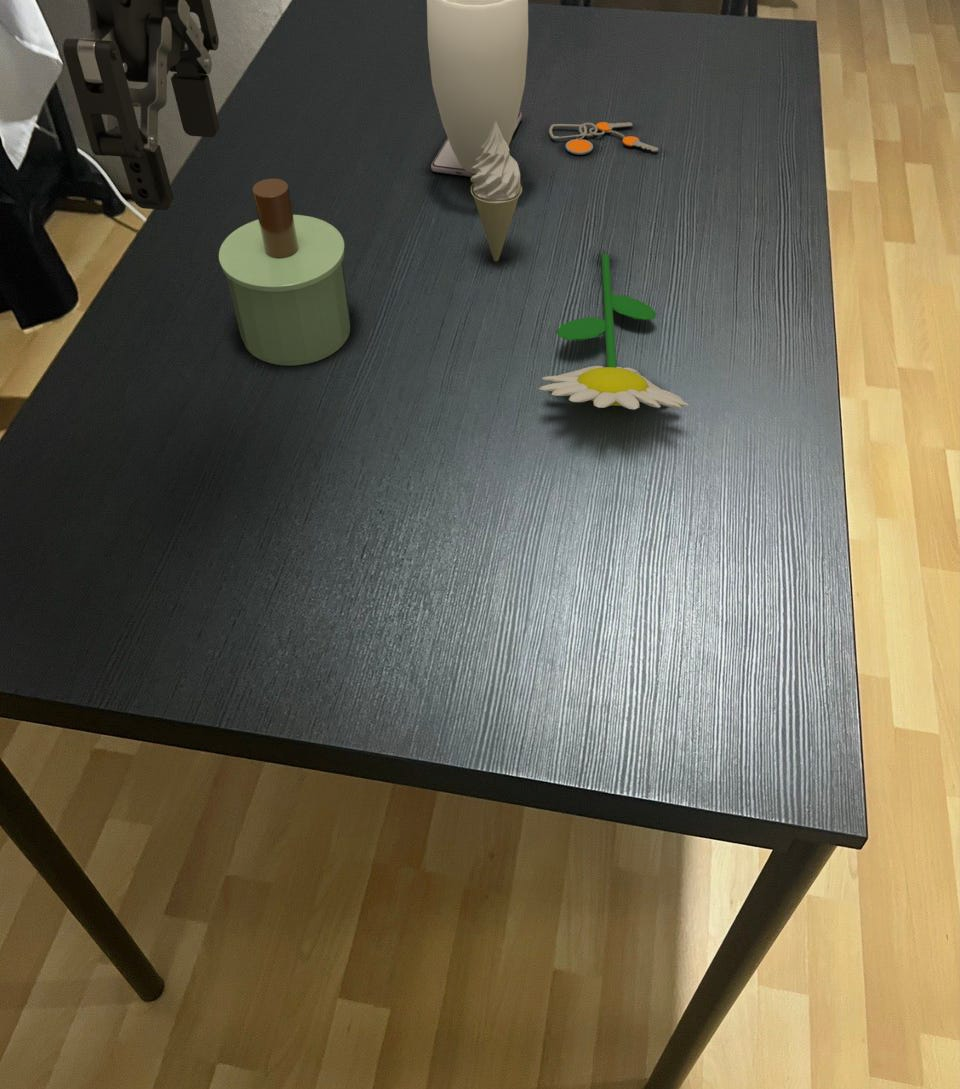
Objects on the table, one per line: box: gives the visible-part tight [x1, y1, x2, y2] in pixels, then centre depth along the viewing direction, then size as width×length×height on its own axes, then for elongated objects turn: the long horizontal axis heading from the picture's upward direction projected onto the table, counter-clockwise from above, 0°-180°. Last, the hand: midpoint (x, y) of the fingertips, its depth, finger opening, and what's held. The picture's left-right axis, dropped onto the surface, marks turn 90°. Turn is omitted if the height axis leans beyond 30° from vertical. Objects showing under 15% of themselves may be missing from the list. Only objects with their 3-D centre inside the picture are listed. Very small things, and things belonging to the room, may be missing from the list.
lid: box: [218, 178, 346, 292], centre depth 87 cm, size 11×11×7 cm
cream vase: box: [426, 0, 529, 173], centre depth 104 cm, size 10×10×22 cm
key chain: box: [548, 121, 660, 155], centre depth 118 cm, size 13×7×1 cm, turn 88°
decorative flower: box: [538, 253, 690, 411], centre depth 92 cm, size 13×5×30 cm
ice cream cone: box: [469, 120, 523, 262], centre depth 98 cm, size 5×5×15 cm
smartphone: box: [430, 111, 523, 178], centre depth 118 cm, size 7×1×15 cm
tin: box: [225, 261, 352, 367], centre depth 93 cm, size 10×10×8 cm
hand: (180, 168), depth 62 cm, fingers open, 8 cm apart
